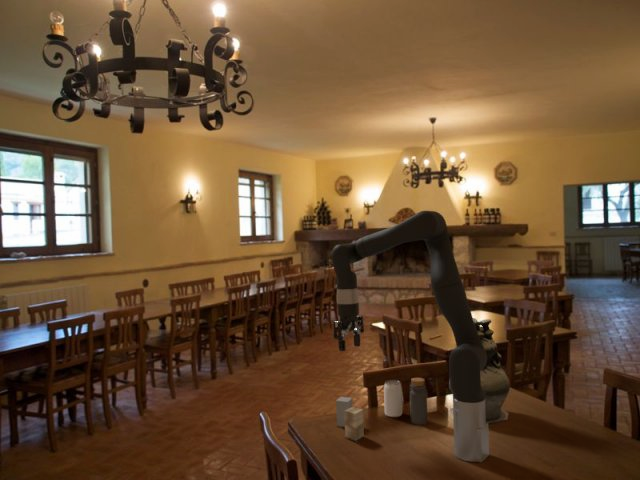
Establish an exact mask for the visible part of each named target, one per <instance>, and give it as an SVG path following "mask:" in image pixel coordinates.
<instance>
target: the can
mask: <svg viewBox="0 0 640 480" xmlns="http://www.w3.org/2000/svg"><path fill="white" fill-rule="evenodd" d="M383 397H384V400H383V401H384V402H383V403H384V404H383V405H384V415H385V416H387V417H390V418H400V417H401V416H402V415H403V393H402V384H401V381H399V380H397V379H389V380H385V381H384V385H383Z"/></svg>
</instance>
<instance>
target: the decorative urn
mask: <svg viewBox="0 0 640 480" xmlns="http://www.w3.org/2000/svg"><path fill="white" fill-rule="evenodd" d="M472 318H473V321H474V325H475V327H476V330H477V332H478V335H479V337H480V340H481V342H482V344H483V346H484V349H485V352H486V355H487V363H486V365H485V367H484V368H483V369H482V370H481V371H480V378H481V387H482V388H483V389H484V391H485V415H486V423H488V424H492V423H497V422H500V421H501V422H502V421H505V420H508V419H509V418H508V416H509V413H508V412H506V411H504V409H502V408H503V405H504V403H505V401H506V399H507V397H508V394H509V393H510V389H511V384H510V380H509V377H508V376H507V374H506V372H505V371H504V370H503V369H502V368H501V361H502V359H503V357H502V355H501V354H500V353H499V352H498V345H497V343H496V342H495V340H494V338H493V335H494V333H495V331H494V330H492V329H491V328H490V324H491V323H492V319H490V318H489V319H487V318H486V319H482V320H479V321H478V319H477V318H475V317H472ZM455 348H457V346H456V344H455V346H454V349H455ZM448 381H449V382H448V388H449V390H450V392H451V394H452V395H453V392H452V389H451V386H450V378H449V379H448ZM448 412H449V413H451V414H453V407H452V408H451V407H450V409H449V411H448Z"/></svg>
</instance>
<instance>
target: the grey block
mask: <svg viewBox="0 0 640 480" xmlns="http://www.w3.org/2000/svg"><path fill="white" fill-rule="evenodd" d="M335 403H336V404H335V405H336V427H342V428H345V413H344V411H345V410H347V409H349V408H351V407H354V406H353V405H354V404H353V397H346V396H339V397H338V398H337V399H336V400H335Z"/></svg>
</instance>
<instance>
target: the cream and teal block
mask: <svg viewBox="0 0 640 480" xmlns="http://www.w3.org/2000/svg"><path fill="white" fill-rule="evenodd" d="M344 413H345V427H344V437H345V439H347V440H351V441H355V442H357V441H359V440H360V439H362V438H364V437H365V434H364V433H365V432H364V409H362V408H358V407H354V406H353V407H351V408H349V409H347V410H345V411H344Z"/></svg>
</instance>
